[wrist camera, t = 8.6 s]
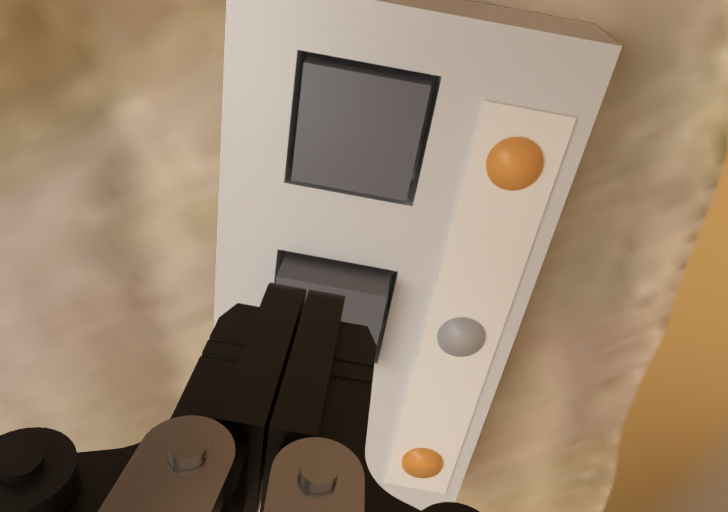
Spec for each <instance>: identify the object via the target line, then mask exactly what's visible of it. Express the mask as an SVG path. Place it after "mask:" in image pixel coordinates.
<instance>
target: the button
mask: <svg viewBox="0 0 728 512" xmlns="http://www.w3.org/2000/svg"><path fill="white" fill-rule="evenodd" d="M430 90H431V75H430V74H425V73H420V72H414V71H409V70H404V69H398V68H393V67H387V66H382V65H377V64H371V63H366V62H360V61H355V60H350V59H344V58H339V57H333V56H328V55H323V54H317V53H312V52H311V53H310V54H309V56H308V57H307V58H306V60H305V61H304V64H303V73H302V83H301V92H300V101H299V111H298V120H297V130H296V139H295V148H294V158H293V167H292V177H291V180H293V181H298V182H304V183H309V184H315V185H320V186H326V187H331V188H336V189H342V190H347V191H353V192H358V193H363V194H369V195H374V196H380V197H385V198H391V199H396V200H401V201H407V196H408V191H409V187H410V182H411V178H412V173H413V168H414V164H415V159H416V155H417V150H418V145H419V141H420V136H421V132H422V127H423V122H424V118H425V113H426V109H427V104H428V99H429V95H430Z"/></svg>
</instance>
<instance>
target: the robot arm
mask: <svg viewBox="0 0 728 512" xmlns="http://www.w3.org/2000/svg"><path fill="white" fill-rule="evenodd" d="M306 294H307V289H304V288H299V287H293V286H287V285H282V284H276V283H271V282H270V283H269V284H268V286H267V289H266V291H265V294H264V296H263V299H262V302H261V304H260V307H257V306H252V305H246V304H241V303H237V304H236V305H234V306H233V307H232V308H231V309H229V310H228V311H227V312H225V313H224V314H223V315H222V316H220V317H219V318H218V321H217V323H216V325H215V327H214V329H213V331H212V333H211V335H210V339H209V340H208V342H207V344H206V346H205V348H204V350H203V352H202V356H200V358H199V360H198V362H197V365H196V367H195V369H194V371H193V373H192V375H191V377H190V379H189V381H188V383H187V385H186V388H185V390H184V392H183V394H182V396H181V398H180V400H179V402H178V404H177V406H176V408H175V411H174V413H173V415H172V416H171V418H170V419H169V420H166V421H164V422H162V423H160V424H158V425H157V426H155V427H154V428H153V429H151V430H150V431H149V432H148V433H147V434H146V435H145V437H144V438H143V439H142V441H141V442H140V443H137V444H135V445H132V446H128V447H124V448H118V449H110V450H100V451H90V452H79V453H77V451H76V448H75V446H74V444H73V442H72V441H71V440H70V439H69V438H68V437H67V436H66V435H64V434H63V433H61V432H58V431H56V430H53V429H48V428H40V427H35V428H24V429H18V430H15V431H11V432H8V433H6V434H3V435H1V436H0V512H258V510H259V506H260V502H261V507H260V512H479V511H478V510H476V509H474V508H472V507H469V506H467V505H464V504H460V503H454V502H441V503H436V504H433V505H430V506H428V507H427V508H425V509H423V510H422V511H421V510H419V509H417V508H415V507H413V506H411V505H409V504H407V503H405V502H403V501H401V500H399V499H397V498H396V497H394V496H392V495H391V494H389V493H388V492H387V491H385V490H384V489H383V488H382V487H381V486H380V485H379V484H378V483H377V482H376V480H375V479H374V478H373V476H372V474H371V473H370V471H369V469H368V466H367V463H366V458H365V446H366V436H367V427H368V418H369V409H370V400H371V391H372V382H373V372H374V363H375V354H376V343H375V341H374V339H373V337H372V335H371V332H370V330H369V328H368V326H364V325H358V324H353V323H347V322H342V321H341V320H342V314H343V309H344V303H345V297H346V296H344V295H338V294H333V293H327V292H322V291H316V290H310V289H309V291H308V295H307V298H306Z"/></svg>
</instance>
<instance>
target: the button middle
mask: <svg viewBox="0 0 728 512" xmlns="http://www.w3.org/2000/svg"><path fill="white" fill-rule="evenodd" d="M389 278H390V270H387V269H382V268H376V267H371V266H365V265H360V264H354V263H349V262H344V261H338V260H333V259H327V258H322V257H316V256H311V255H306V254H300V253H295V252H289V251H286V253H285V256H284V258H283V261H282V263H281V266H280V268H279V271H278V273H277V276H276V284H282V285H287V286H293V287H299V288H304V289H307V294H306V298H307V295H308V291H309V289H310V290H316V291H322V292H327V293H333V294H338V295H344V296H346V297H345V303H344V309H343V314H342V320H341V321H342V322H347V323H353V324H358V325H364V326H368V328H369V330H370V332H371V335H372V337H373V339H374V341H375V343H376V347H377V343H378V338H379V334H380V329H381V325H382V320H383V315H384V311H385V306H386V302H387V297H388V287H389Z"/></svg>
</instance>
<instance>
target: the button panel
mask: <svg viewBox="0 0 728 512" xmlns="http://www.w3.org/2000/svg"><path fill="white" fill-rule="evenodd" d="M621 49H622V46H621V45H620V44H619V43H618V42H616V41H615V40H614V39H613V38H611V37H610V36H609V35H607V34H606V33H605V32H604V31H602V30H601V29H600V28H599V27H597V26H596V25H595V24H593V23H587V22H582V21H576V20H571V19H566V18H560V17H555V16H550V15H544V14H539V13H533V12H528V11H523V10H517V9H512V8H507V7H501V6H496V5H490V4H485V3H480V2H474V1H469V0H227V1H226V26H225V51H224V76H223V101H222V126H221V151H220V176H219V202H218V227H217V252H216V277H215V302H214V327H215V325H216V323H217V321H218V318H219V317H220V316H222V315H223V314H224V313H225V312H227V311H228V310H229V309H231V308H232V307H233V306H234V305H236V304H237V303H241V304H246V305H252V306H257V307H260V304H261V302H262V299H263V296H264V294H265V291H266V289H267V286H268V284H269V283H270V282H271V283H276V276H277V273H278V271H279V268H280V266H281V263H282V261H283V258H284V256H285V253H286V251H289V252H295V253H300V254H306V255H311V256H316V257H322V258H327V259H333V260H338V261H344V262H349V263H354V264H360V265H365V266H371V267H376V268H382V269H387V270H390V278H389V287H388V297H387V302H386V306H385V311H384V315H383V320H382V325H381V329H380V334H379V338H378V343H377V347H376V354H375V363H374V372H373V382H372V391H371V400H370V409H369V418H368V427H367V436H366V446H365V458H366V463H367V466H368V469H369V471H370V473H371V474H372V476H373V478H374V479H375V480H376V482H377V483H378V484H379V485H380V486H381V487H382V488H383V489H384V490H385V491H387V492H388V493H389V494H391V495H392V496H394V497H396V498H397V499H399V500H401V501H403V502H405V503H407V504H409V505H411V506H413V507H415V508H417V509H419V510H421V511H422V510H423V509H425V508H427V507H428V506H430V505H433V504H436V503H441V502H454V503H455V501H456V498H457V495H458V493H459V490H460V487H461V484H462V482H463V479H464V476H465V474H466V471H467V468H468V465H469V463H470V460H471V457H472V454H473V452H474V449H475V446H476V444H477V441H478V438H479V435H480V433H481V430H482V427H483V425H484V422H485V419H486V416H487V414H488V411H489V408H490V405H491V403H492V400H493V397H494V395H495V392H496V389H497V386H498V384H499V381H500V378H501V376H502V373H503V370H504V367H505V365H506V362H507V359H508V356H509V354H510V351H511V348H512V346H513V343H514V340H515V337H516V335H517V332H518V329H519V327H520V324H521V321H522V318H523V316H524V313H525V310H526V307H527V305H528V302H529V299H530V297H531V294H532V291H533V288H534V286H535V283H536V280H537V278H538V275H539V272H540V269H541V267H542V264H543V261H544V258H545V256H546V253H547V250H548V248H549V245H550V242H551V239H552V237H553V234H554V231H555V228H556V226H557V223H558V220H559V218H560V215H561V212H562V209H563V207H564V204H565V201H566V199H567V196H568V193H569V190H570V188H571V185H572V182H573V179H574V177H575V174H576V171H577V169H578V166H579V163H580V160H581V158H582V155H583V152H584V150H585V147H586V144H587V141H588V139H589V136H590V133H591V130H592V128H593V125H594V122H595V120H596V117H597V114H598V111H599V109H600V106H601V103H602V101H603V98H604V95H605V92H606V90H607V87H608V84H609V81H610V79H611V76H612V73H613V71H614V68H615V65H616V62H617V60H618V57H619V54H620V52H621ZM311 52H312V53H317V54H323V55H328V56H333V57H339V58H344V59H350V60H355V61H360V62H366V63H371V64H377V65H382V66H387V67H393V68H398V69H404V70H409V71H414V72H420V73H425V74H430V75H431V90H430V95H429V99H428V104H427V109H426V113H425V118H424V122H423V127H422V132H421V136H420V141H419V145H418V150H417V155H416V159H415V164H414V168H413V173H412V178H411V182H410V187H409V191H408V196H407V201H401V200H396V199H391V198H385V197H380V196H374V195H369V194H363V193H358V192H353V191H347V190H342V189H336V188H331V187H326V186H320V185H315V184H309V183H304V182H298V181H293V180H291V177H292V167H293V158H294V148H295V139H296V130H297V120H298V111H299V101H300V92H301V83H302V73H303V64H304V61H305V60H306V58H307V57H308V56H309V54H310V53H311ZM214 327H213V329H214Z"/></svg>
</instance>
